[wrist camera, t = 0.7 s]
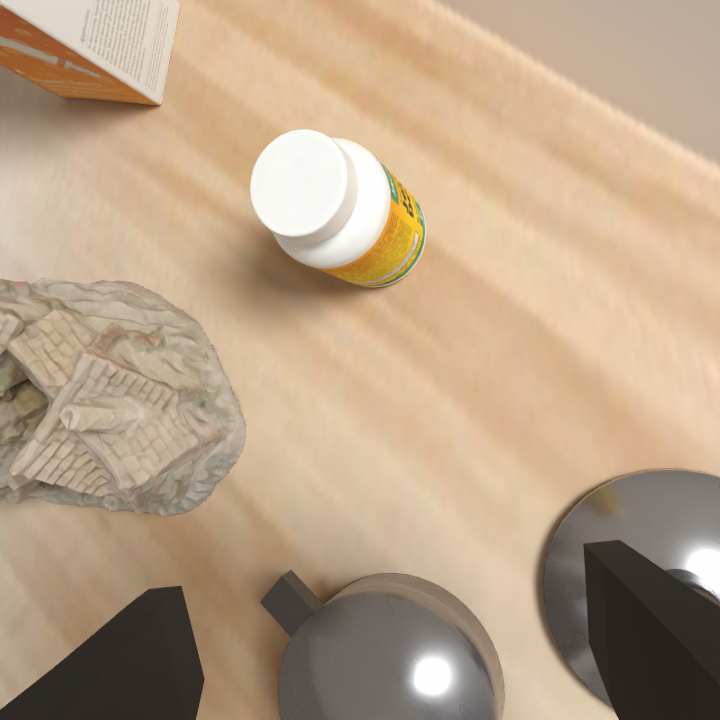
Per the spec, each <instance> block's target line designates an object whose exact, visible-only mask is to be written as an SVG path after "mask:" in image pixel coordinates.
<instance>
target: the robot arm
mask: <svg viewBox="0 0 720 720" xmlns="http://www.w3.org/2000/svg"><path fill="white" fill-rule="evenodd" d="M583 546H584V564H585V581H586V599H587V616H588V634H589V645H590V647H591V650H592V653H593V656H594V659H595V662H596V665H597V667H598V670H599V673H600V676H601V678H602V681H603V684H604V687H605V689H606V692H607V695H608V697H609V700H610V702H611V704H612V706H613V708H614V710H615V713H616V715H617V717H618V719H619V720H720V607H719V606H718V605H716V604H714V603H713V602H711V601H710V600H708V599H707V598H705V597H704V596H702V595H700V594H699V593H697V592H696V591H694V590H693V589H691V588H690V587H688V586H687V585H685V584H684V583H682V582H681V581H679V580H678V579H676V578H675V577H674V576H672V575H671V574H669V573H668V572H666V571H665V570H663V569H662V568H660V567H659V566H657V565H656V564H655V563H653V562H652V561H650V560H649V559H647V558H646V557H644V556H643V555H642V554H640V553H639V552H637V551H636V550H634V549H633V548H631V547H630V546H628V545H627V544H625V543H624V542H622V541H621V540H612V541H602V542H593V543H583ZM204 680H205V679H204V675H203V671H202V667H201V663H200V659H199V655H198V651H197V647H196V643H195V639H194V635H193V631H192V627H191V623H190V619H189V615H188V611H187V607H186V603H185V599H184V595H183V591H182V587H181V586H174V587H165V588H155V589H149V590H147V591H146V592H145V593H143V594H142V595H140V596H139V597H138V598H136V599H135V600H134V601H133V602H131V603H130V604H129V605H128V606H127V607H125V608H124V609H123V610H122V611H121V612H119V613H118V614H117V615H116V616H115V617H113V618H112V619H111V620H110V621H109V622H107V623H106V624H105V625H104V626H103V627H102V628H100V629H99V630H98V631H97V632H96V633H95V634H93V635H92V636H91V637H90V638H89V639H87V640H86V641H85V642H84V643H83V644H81V645H80V646H79V647H78V648H77V649H76V650H74V651H73V652H72V653H71V654H70V655H68V656H67V657H66V658H65V659H64V660H62V661H61V662H60V663H59V664H58V665H56V666H55V667H54V668H53V669H52V670H50V671H49V672H48V673H46V674H45V675H44V676H43V677H41V678H40V679H39V680H38V681H36V682H35V683H34V684H32V685H31V686H30V687H29V688H27V689H26V690H25V691H24V692H22V693H21V694H20V695H18V696H17V697H16V698H15V699H13V700H12V701H11V702H10V703H8V704H7V705H6V706H5V707H3V708H2V709H1V710H0V720H196V716H197V712H198V708H199V703H200V698H201V694H202V689H203V684H204Z"/></svg>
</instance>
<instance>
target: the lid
mask: <svg viewBox="0 0 720 720" xmlns="http://www.w3.org/2000/svg"><path fill="white" fill-rule="evenodd" d="M612 540H621V541H622V542H624V543H625V544H627V545H628V546H630V547H631V548H633V549H634V550H636V551H637V552H639V553H640V554H642V555H643V556H644V557H646V558H647V559H649V560H650V561H652V562H653V563H655V564H656V565H657V566H659V567H660V568H662V569H663V570H665V571H666V572H668V573H669V574H671V575H672V576H674V577H675V578H676V579H678V580H679V581H681V582H682V583H684V584H685V585H687V586H688V587H690V588H691V589H693V590H694V591H696V592H697V593H699V594H700V595H702V596H704V597H705V598H707V599H708V600H710V601H711V602H713V603H714V604H716V605H718V606H719V607H720V476H717V475H713V474H709V473H705V472H701V471H695V470H688V469H672V468H662V469H651V470H644V471H639V472H634V473H630V474H627V475H624V476H621V477H618V478H616V479H613V480H611V481H609V482H607V483H605V484H603V485H601V486H599V487H597V488H596V489H595V490H593V491H592V492H590V493H589V494H587V495H586V496H585V497H584V498H582V499H581V500H580V501H579V502H578V503H577V504H576V505H575V506H574V507H573V508H572V509H571V511H570V512H569V513H568V514H567V516H566V517H565V518H564V519H563V521H562V523H561V524H560V526H559V528H558V529H557V531H556V533H555V535H554V538H553V540H552V543H551V545H550V548H549V552H548V556H547V560H546V564H545V571H544V581H543V586H544V602H545V608H546V614H547V618H548V621H549V624H550V628H551V631H552V633H553V636H554V638H555V640H556V642H557V645H558V647H559V649H560V650H561V652H562V654H563V656H564V657H565V659H566V661H567V662H568V664H569V665H570V666H571V668H572V669H573V670H574V672H575V673H576V674H577V676H578V677H579V678H580V679H581V680H582V681H583V682H584V683H585V685H586V686H587V687H588V688H589V689H590V690H591V691H592V692H593V693H595V694H596V695H597V696H598V697H599V698H600V699H602V700H603V701H604V702H605V703H606V704H608V705H609V706H611V707H612V708H613V706H612V704H611V702H610V700H609V697H608V695H607V692H606V689H605V687H604V684H603V681H602V678H601V676H600V673H599V670H598V667H597V665H596V662H595V659H594V656H593V653H592V650H591V647H590V645H589V634H588V616H587V599H586V581H585V564H584V546H583V543H593V542H602V541H612Z"/></svg>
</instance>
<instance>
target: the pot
mask: <svg viewBox="0 0 720 720" xmlns="http://www.w3.org/2000/svg"><path fill="white" fill-rule="evenodd" d="M260 603H261V604H262V605H263V606H264V607H265V608H266V609H267V611H268V612H269V613H270V614H271V615H272V616H273V617H274V618H275V619H276V621H277V622H278V623H279V624H280V625H281V626H282V627H283V628H284V630H285V631H286V632H287V633H288V634H289V635H290V636H291V637H292V639H291V641H290V643H289V645H288V647H287V649H286V652H285V655H284V657H283V660H282V664H281V669H280V673H279V683H278V703H279V711H280V717H281V720H502V716H503V710H504V701H505V692H504V680H503V673H502V668H501V665H500V661H499V658H498V655H497V652H496V650H495V648H494V645H493V643H492V641H491V639H490V637H489V636H488V634H487V632H486V630H485V629H484V627H483V626H482V624H481V623H480V622H479V620H478V619H477V617H476V616H475V615H474V614H473V613H472V612H471V611H470V610H469V609H468V607H467V606H466V605H464V604H463V603H462V602H461V601H460V600H459V599H458V598H456V597H455V596H454V595H452V594H451V593H449V592H448V591H446V590H445V589H444V588H442V587H440V586H438V585H436V584H434V583H432V582H430V581H427V580H424V579H422V578H419V577H415V576H411V575H406V574H396V573H387V574H377V575H372V576H368V577H365V578H362V579H359V580H357V581H355V582H353V583H351V584H349V585H348V586H346V587H345V588H344V589H342V590H341V591H340V592H338V593H337V594H336V595H335V596H334V597H332V598H331V599H330V600H329V601H328V602H326V603H325V604H323V603H322V602H321V601H320V600H319V599H318V598H317V597H316V596H315V595H314V594H313V593H312V592H311V590H310V589H309V588H308V587H307V586H306V585H305V584H304V583H303V582H302V581H301V580H300V579H299V578H298V577H297V575H296V574H295V573H294V572H293V571H292V570H290V571H289V572H287V573H286V574H284V575H283V576H281V577H280V579H279V580H278V581H277V582H276V584H275V585H274V586H273V587H272V588H271V590H270V591H269V592H268V593H267V595H266V596H265V597H264V598H263V599H262V601H261V602H260Z"/></svg>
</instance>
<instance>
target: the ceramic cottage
mask: <svg viewBox="0 0 720 720" xmlns="http://www.w3.org/2000/svg"><path fill="white" fill-rule="evenodd" d="M213 350H214V348H213V345H212V344H211V342H210V340H209V339H208V338H207V337H206V333H205V332H203V329H202V328H201V327H200V325H199V324H198V323H197V322H196V321H195V320H194V319H192V318H191V317H188V314H186V313H184V312H183V310H182V309H181V310H179V309H177V308H176V307H174V305H170V303H169V302H168V301H167V300H165V299H164V298H163V297H162V296H160V295H158V294H156V293H154V292H152V291H150V290H149V289H145V288H144V287H140V286H139V285H138V284H136V283H132V282H125V281H114V282H108V281H103V280H102V281H99V282H95V283H92V284H86V285H84V284H80V283H72V282H65V281H58V280H52V279H47V278H42V279H40V280H38V281H37V282H35V283H32V284H29V283H28V282H13V281H9V280H3V279H0V499H3V498H6V500H7V502H9V503H21V502H22V501H23V500H24V499H25V498H26V497H35V498H42V499H44V500H46V501H49V502H51V503H53V504H67V505H75V506H78V507H82V506H88V507H89V506H92V507H102V508H106V509H108V510H110V511H128V510H130V511H134V512H135V513H136V514H137V515H140V514H141V513H142V512H149V513H150V514H160V515H161V516H171V515H176V514H183V513H187V512H189V511H191V510H192V509H194V508H195V507H198V506H199V505H200V503H201V502H203V501H206V500H207V496H209V495H210V494H211V491H213V490H214V488H215V487H214V485H215V484H216V483H217V482H218V481H219V480H221V479H222V478H223V477H224V475H226V474H227V473H229V471H228V470H229V469H231V468H232V467H233V466H234V464H235V463H236V462H237V461H238V458H239V457H240V455H241V453H242V451H243V446H244V443H245V437H246V435H245V433H246V425H245V424H244V421H245V420H244V417H243V414H242V413H241V412H240V411H239V403H238V400H236V401H235V399H234V397H233V395H234V393H233V391H232V387H231V386H230V383H229V381H228V378H227V377H226V375H225V374H224V372H223V369H222V367H221V364H220V362H219V361H218V360H217V359H218V356H217V353H216V352H215V351H213Z"/></svg>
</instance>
